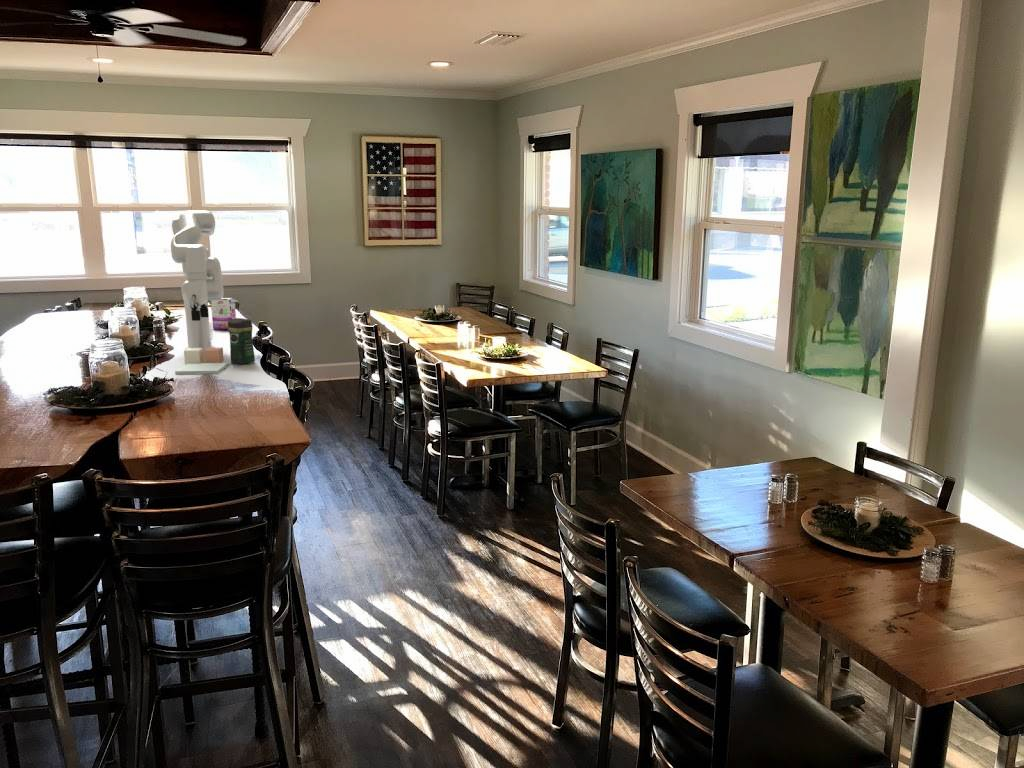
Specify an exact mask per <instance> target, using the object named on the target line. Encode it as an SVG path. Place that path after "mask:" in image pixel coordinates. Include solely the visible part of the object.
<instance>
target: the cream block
mask: <svg viewBox="0 0 1024 768" xmlns="http://www.w3.org/2000/svg"><path fill="white" fill-rule="evenodd" d="M186 348H187V347H186ZM183 357H184V365H186V364H187V363H205V357H204V352H203V348H187V349H186V350H185V349H184V350H183Z"/></svg>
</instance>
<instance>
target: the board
mask: <svg viewBox="0 0 1024 768" xmlns="http://www.w3.org/2000/svg"><path fill="white" fill-rule="evenodd" d="M228 366H229V362H223V363H205V362H203V363H187V364H186V365H185V364H184V365H183V366H181V367H180V368H177V370H175V375H212V374H214V375H215V374H217V375H218V374H220V373H221V372H222V371H224V370H225V369H226V368H227V367H228ZM224 368H225V369H224Z"/></svg>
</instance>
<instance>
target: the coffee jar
mask: <svg viewBox="0 0 1024 768" xmlns="http://www.w3.org/2000/svg"><path fill="white" fill-rule="evenodd" d="M227 331H228V333H229V334H228V335H229V347H230V348H229V349H230V351H229V352H230V354H229V355H230V356H229V357H230V362H231V363H232V364H236V363H237V365H245V364H247V363H250V364H252V363H254V362H255V360H256V359H255V349H254V343H253V323H252V320H250V319H249V318H248V319H247V318H242V317H236V318H234V319H230V320H229V321H228V330H227ZM251 362H252V363H251Z"/></svg>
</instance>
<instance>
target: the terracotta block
mask: <svg viewBox="0 0 1024 768" xmlns="http://www.w3.org/2000/svg"><path fill="white" fill-rule="evenodd" d="M203 354H204V363H222V362H223V361H225V358H224V348H223V347H215V348H207V349H205V350H204V352H203ZM223 363H224V362H223Z"/></svg>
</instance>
